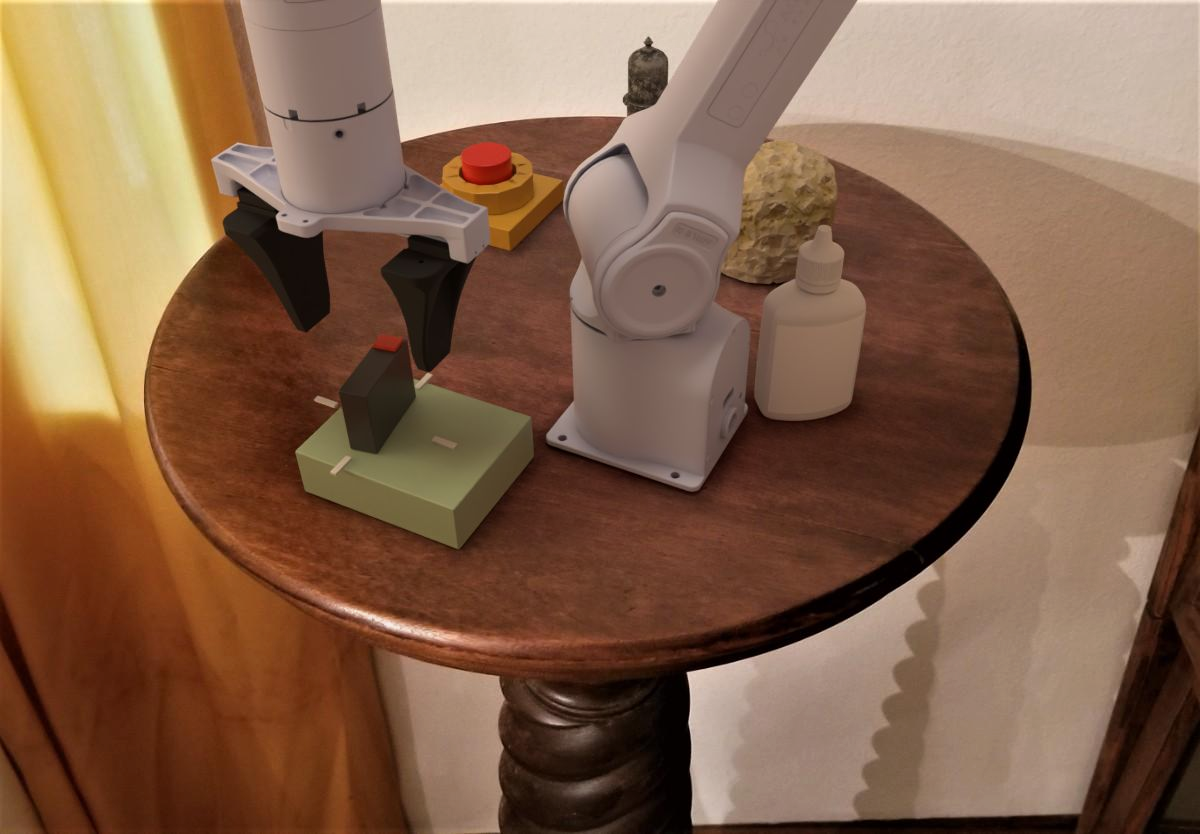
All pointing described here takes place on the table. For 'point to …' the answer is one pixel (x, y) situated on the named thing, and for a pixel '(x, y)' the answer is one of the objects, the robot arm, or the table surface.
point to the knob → (378, 393)
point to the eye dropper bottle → (810, 337)
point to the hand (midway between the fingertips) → (372, 340)
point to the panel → (423, 464)
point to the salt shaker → (645, 77)
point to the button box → (508, 199)
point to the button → (487, 164)
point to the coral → (780, 211)
